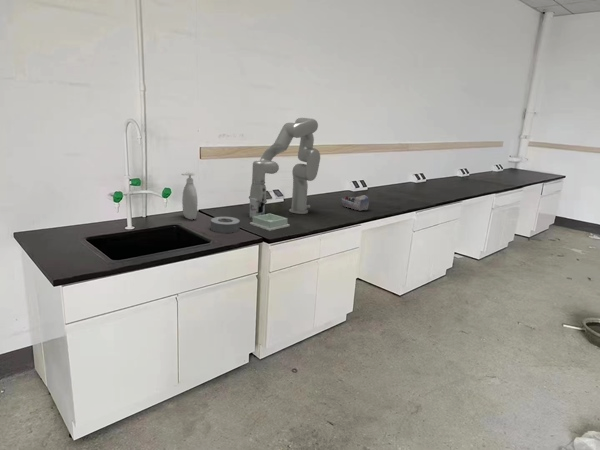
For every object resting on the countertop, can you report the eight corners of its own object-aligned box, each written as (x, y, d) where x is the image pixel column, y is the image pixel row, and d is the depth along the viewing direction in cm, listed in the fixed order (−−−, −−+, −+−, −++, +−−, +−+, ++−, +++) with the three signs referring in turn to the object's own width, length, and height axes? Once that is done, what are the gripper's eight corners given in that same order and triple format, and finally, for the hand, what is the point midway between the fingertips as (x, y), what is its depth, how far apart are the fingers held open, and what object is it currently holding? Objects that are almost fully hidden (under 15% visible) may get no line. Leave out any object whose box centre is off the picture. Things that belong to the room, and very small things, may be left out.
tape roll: (245, 230, 221) (245, 221, 219) (221, 234, 210) (221, 225, 209) (228, 224, 231) (229, 215, 230) (205, 227, 221) (205, 218, 219)
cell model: (361, 197, 278) (339, 192, 292) (359, 212, 281) (338, 207, 295) (373, 195, 287) (351, 190, 301) (371, 210, 289) (350, 205, 303)
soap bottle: (176, 216, 239) (176, 169, 232) (189, 214, 244) (189, 169, 237) (187, 221, 228) (187, 173, 221) (201, 220, 234) (201, 173, 226)
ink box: (258, 214, 255) (259, 196, 252) (264, 216, 252) (265, 197, 249) (248, 217, 248) (249, 197, 245) (254, 218, 245) (255, 199, 242)
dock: (269, 220, 244) (270, 212, 243) (289, 226, 235) (290, 218, 233) (249, 224, 233) (250, 216, 231) (269, 230, 223) (270, 222, 222)
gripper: (273, 183, 242) (271, 213, 247) (253, 179, 252) (252, 208, 257) (263, 184, 236) (262, 215, 241) (244, 180, 247) (243, 209, 252)
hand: (257, 211), depth 249 cm, fingers closed on ink box, 5 cm apart
